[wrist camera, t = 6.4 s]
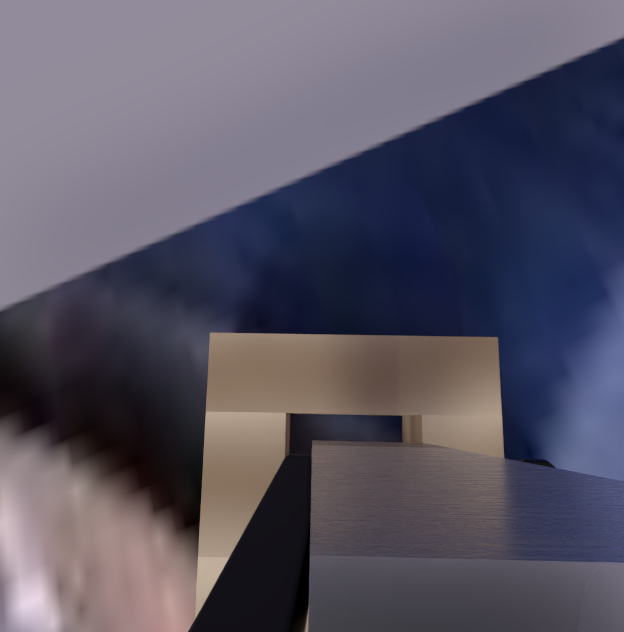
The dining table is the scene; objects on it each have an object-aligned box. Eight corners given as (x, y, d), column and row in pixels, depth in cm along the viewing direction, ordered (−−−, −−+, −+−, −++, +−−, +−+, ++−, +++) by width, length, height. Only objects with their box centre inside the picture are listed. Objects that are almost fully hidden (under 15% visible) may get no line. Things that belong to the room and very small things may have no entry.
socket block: (487, 920, 18) (535, 1056, 14) (201, 914, 18) (171, 1049, 14) (464, 351, 22) (497, 337, 18) (228, 347, 22) (210, 332, 18)
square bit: (427, 564, 14) (1404, 1779, 2) (309, 561, 14) (284, 1745, 2) (425, 443, 15) (1102, 576, 2) (312, 440, 15) (312, 556, 2)
